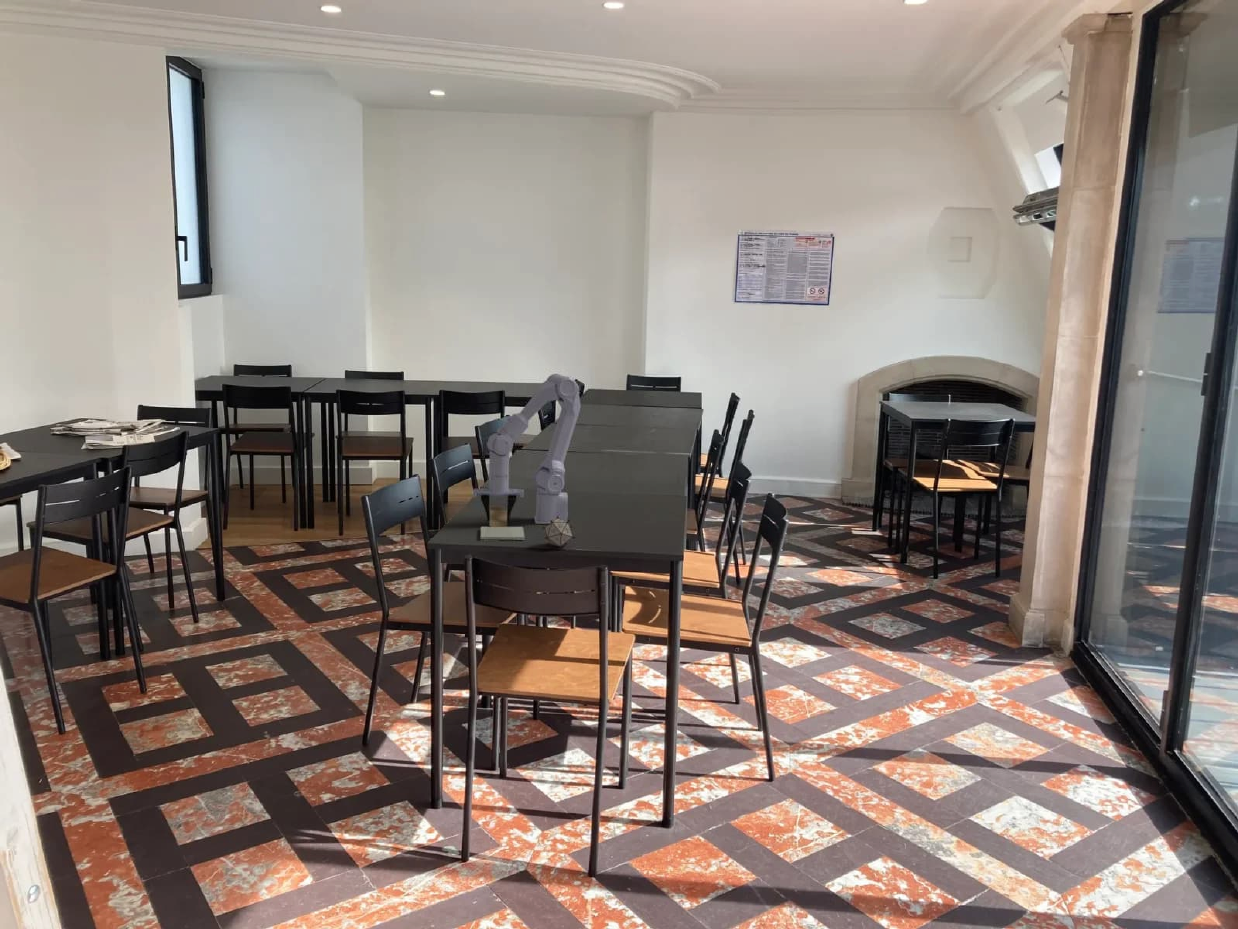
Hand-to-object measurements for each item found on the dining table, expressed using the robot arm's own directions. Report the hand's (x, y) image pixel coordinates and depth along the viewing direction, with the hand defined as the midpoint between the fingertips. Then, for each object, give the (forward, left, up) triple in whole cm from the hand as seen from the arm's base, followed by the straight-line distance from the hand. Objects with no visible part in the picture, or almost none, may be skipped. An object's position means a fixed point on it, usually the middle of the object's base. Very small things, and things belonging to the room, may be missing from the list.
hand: (498, 520), depth 277 cm
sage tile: (-1, +12, -1) cm, 12 cm away
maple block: (0, 0, -1) cm, 1 cm away
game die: (-16, +23, -2) cm, 28 cm away
